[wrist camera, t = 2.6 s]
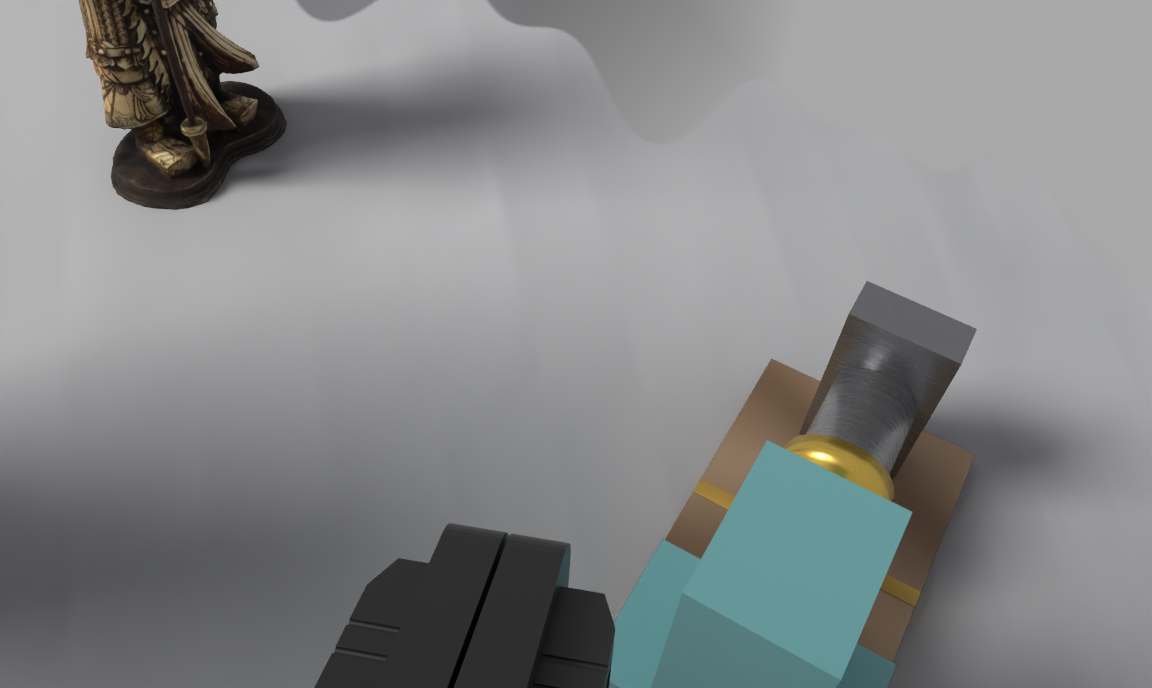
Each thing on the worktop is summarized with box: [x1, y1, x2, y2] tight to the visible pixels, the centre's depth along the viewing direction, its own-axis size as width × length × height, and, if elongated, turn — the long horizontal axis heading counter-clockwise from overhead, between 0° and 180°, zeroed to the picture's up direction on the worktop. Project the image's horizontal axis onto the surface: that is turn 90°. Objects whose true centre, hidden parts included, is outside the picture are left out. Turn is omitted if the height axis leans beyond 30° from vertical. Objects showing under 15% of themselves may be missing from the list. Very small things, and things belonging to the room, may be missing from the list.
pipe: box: [784, 281, 977, 502], centre depth 30 cm, size 18×4×7 cm, turn 150°
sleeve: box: [609, 440, 912, 688], centre depth 25 cm, size 4×6×12 cm, turn 60°
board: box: [665, 359, 975, 663], centre depth 33 cm, size 20×8×1 cm, turn 150°
